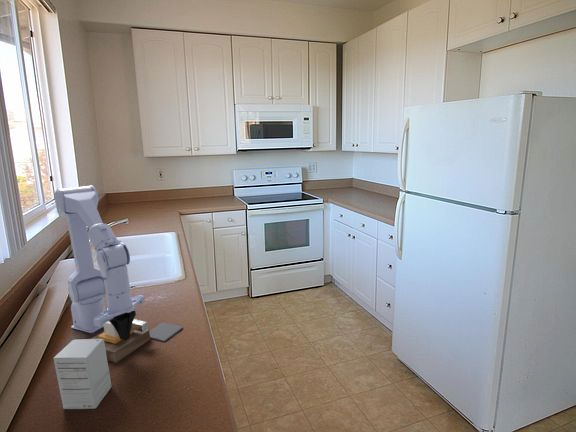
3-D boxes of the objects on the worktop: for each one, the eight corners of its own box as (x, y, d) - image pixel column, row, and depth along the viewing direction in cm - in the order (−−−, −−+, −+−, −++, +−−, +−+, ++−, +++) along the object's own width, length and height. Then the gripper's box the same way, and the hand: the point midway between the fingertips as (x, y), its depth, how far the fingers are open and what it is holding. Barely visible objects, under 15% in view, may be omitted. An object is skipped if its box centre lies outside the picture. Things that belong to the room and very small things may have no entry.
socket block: (84, 353, 100) (82, 343, 99) (120, 331, 110) (118, 322, 110) (116, 362, 95) (114, 352, 94) (150, 339, 106) (149, 329, 105)
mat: (143, 336, 107) (143, 335, 107) (162, 323, 114) (162, 322, 114) (164, 342, 104) (164, 340, 104) (183, 328, 111) (182, 326, 111)
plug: (100, 350, 101) (96, 323, 99) (119, 338, 107) (115, 313, 105) (117, 354, 99) (113, 327, 97) (135, 342, 104) (131, 316, 102)
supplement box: (81, 387, 86) (73, 338, 83) (112, 386, 86) (105, 337, 83) (61, 410, 79) (51, 357, 76) (95, 409, 78) (86, 357, 76)
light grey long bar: (108, 328, 106) (106, 317, 106) (114, 324, 108) (112, 314, 107) (143, 336, 101) (141, 325, 100) (148, 332, 103) (147, 321, 102)
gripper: (105, 305, 86) (113, 356, 89) (150, 282, 99) (156, 328, 102) (84, 300, 89) (92, 350, 92) (131, 279, 102) (137, 323, 105)
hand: (124, 338), depth 97 cm, fingers closed
